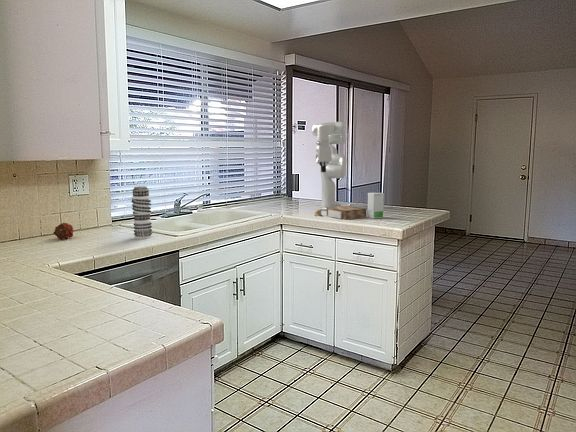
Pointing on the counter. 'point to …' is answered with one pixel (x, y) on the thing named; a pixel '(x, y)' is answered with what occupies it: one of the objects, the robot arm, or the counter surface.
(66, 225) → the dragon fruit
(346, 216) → the housing
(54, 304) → the counter surface
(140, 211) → the decorative candle
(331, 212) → the tray
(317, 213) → the stand
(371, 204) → the skincare box
